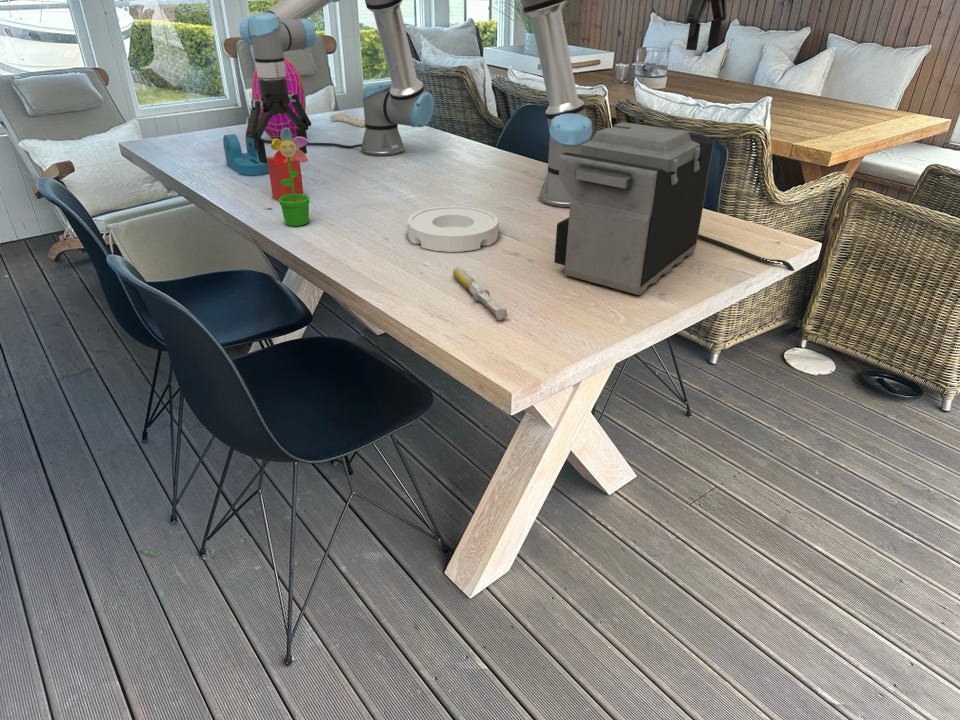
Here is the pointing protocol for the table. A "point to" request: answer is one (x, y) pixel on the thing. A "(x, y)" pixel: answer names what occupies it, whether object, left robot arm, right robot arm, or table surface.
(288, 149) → the potted flower
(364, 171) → the table surface
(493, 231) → the ashtray
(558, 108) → the right robot arm
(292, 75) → the decorative egg
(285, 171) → the brick
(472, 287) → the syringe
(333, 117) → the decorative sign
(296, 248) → the table surface
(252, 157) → the camera mount
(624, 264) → the grey cooler box
